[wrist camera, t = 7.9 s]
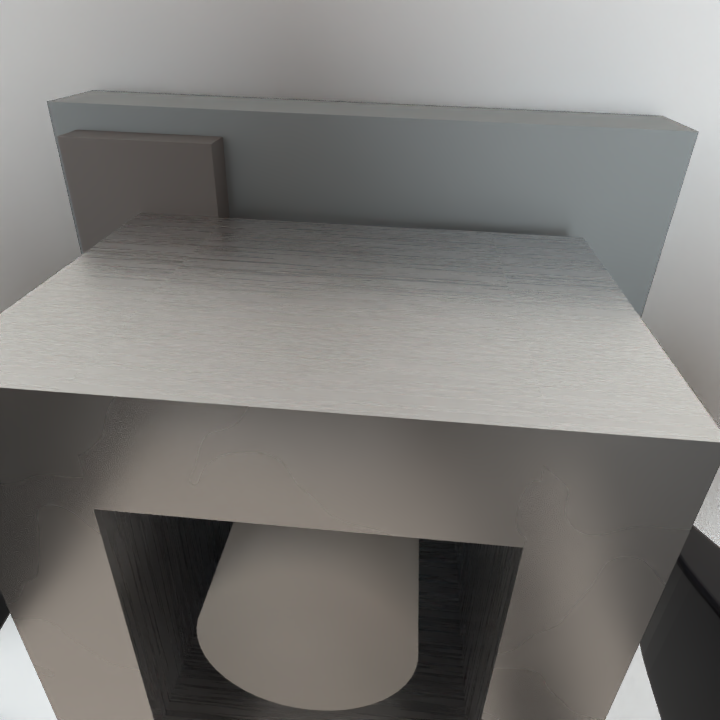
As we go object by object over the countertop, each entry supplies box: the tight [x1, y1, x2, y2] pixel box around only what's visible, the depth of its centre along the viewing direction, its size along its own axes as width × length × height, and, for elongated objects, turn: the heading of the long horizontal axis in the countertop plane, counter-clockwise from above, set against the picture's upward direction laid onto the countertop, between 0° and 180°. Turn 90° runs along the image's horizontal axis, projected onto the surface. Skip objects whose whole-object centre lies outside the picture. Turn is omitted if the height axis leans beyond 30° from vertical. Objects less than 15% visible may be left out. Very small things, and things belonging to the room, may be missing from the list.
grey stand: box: [47, 91, 698, 711], centre depth 10 cm, size 10×10×7 cm
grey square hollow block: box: [0, 213, 720, 720], centre depth 9 cm, size 7×7×5 cm
